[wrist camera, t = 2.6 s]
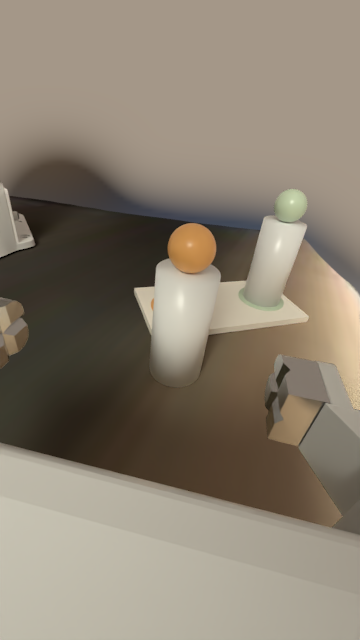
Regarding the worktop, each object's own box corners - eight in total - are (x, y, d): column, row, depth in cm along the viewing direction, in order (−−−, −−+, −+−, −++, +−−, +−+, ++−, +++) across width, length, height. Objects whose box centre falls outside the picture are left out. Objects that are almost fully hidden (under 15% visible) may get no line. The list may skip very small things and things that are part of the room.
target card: (134, 293, 37) (134, 287, 36) (263, 284, 43) (265, 278, 43) (153, 342, 29) (154, 334, 29) (306, 321, 36) (309, 315, 35)
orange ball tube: (144, 354, 28) (151, 213, 20) (189, 347, 29) (212, 214, 21) (157, 392, 24) (172, 237, 16) (208, 382, 25) (244, 236, 18)
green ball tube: (236, 289, 39) (264, 183, 31) (265, 287, 40) (299, 185, 33) (254, 308, 35) (291, 193, 27) (286, 305, 37) (329, 195, 29)
